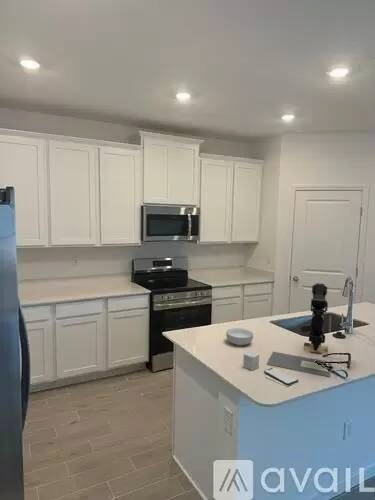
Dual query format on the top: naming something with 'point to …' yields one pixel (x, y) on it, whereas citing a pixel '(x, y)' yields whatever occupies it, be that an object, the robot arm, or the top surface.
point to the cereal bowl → (239, 336)
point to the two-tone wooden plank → (320, 349)
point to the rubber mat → (298, 364)
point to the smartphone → (281, 376)
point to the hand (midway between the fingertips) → (315, 348)
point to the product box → (251, 360)
